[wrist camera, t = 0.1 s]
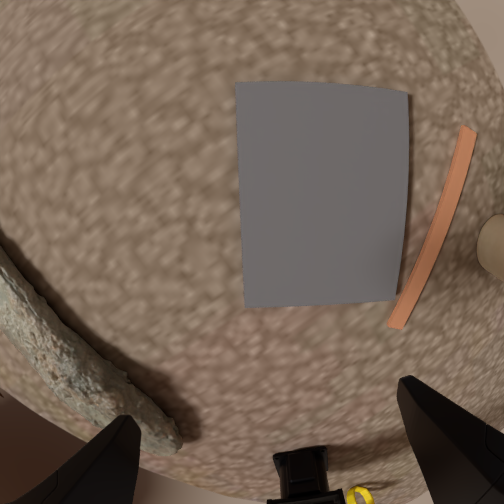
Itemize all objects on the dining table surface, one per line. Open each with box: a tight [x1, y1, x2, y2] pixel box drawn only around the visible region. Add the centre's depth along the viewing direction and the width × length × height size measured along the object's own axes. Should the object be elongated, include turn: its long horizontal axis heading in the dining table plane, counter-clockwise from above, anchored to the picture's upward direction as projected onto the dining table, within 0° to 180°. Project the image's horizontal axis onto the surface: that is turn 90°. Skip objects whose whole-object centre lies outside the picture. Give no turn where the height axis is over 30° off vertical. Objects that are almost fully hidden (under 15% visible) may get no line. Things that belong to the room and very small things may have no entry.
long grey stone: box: [0, 246, 183, 456], centre depth 24 cm, size 35×5×10 cm
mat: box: [235, 81, 409, 308], centre depth 21 cm, size 16×12×1 cm
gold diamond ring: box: [347, 486, 375, 504], centre depth 33 cm, size 6×3×6 cm, turn 49°
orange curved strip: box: [387, 125, 477, 330], centre depth 21 cm, size 18×2×1 cm, turn 164°
